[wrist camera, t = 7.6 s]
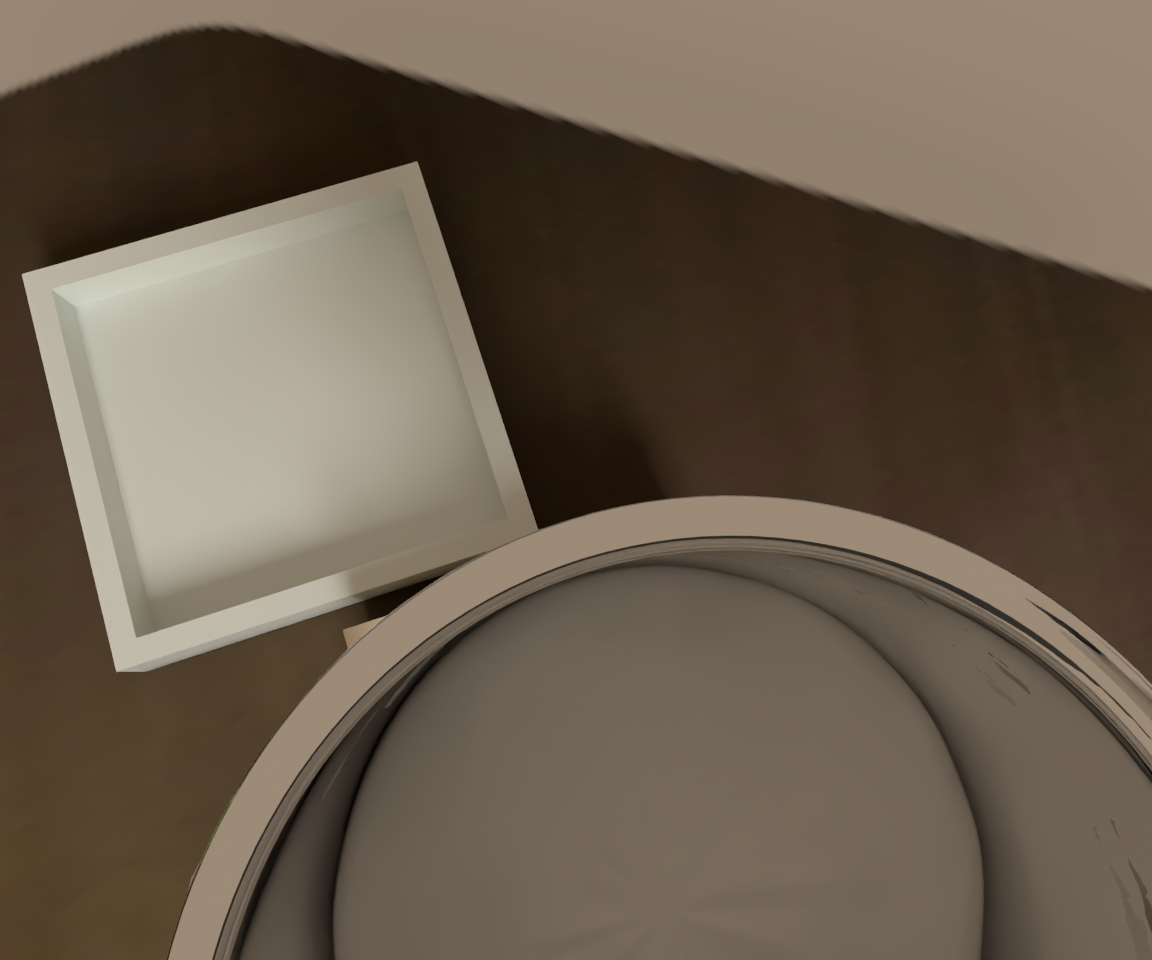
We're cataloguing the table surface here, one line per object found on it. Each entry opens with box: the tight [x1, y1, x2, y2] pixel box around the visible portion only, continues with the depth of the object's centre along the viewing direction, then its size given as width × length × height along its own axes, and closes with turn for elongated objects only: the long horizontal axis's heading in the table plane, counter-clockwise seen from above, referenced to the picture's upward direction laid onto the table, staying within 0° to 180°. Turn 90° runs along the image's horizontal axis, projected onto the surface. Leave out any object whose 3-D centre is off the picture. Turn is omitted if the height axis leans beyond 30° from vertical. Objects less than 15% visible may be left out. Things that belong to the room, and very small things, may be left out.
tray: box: [22, 162, 538, 672], centre depth 32 cm, size 14×14×2 cm
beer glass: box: [166, 495, 1152, 960], centre depth 12 cm, size 7×7×15 cm
